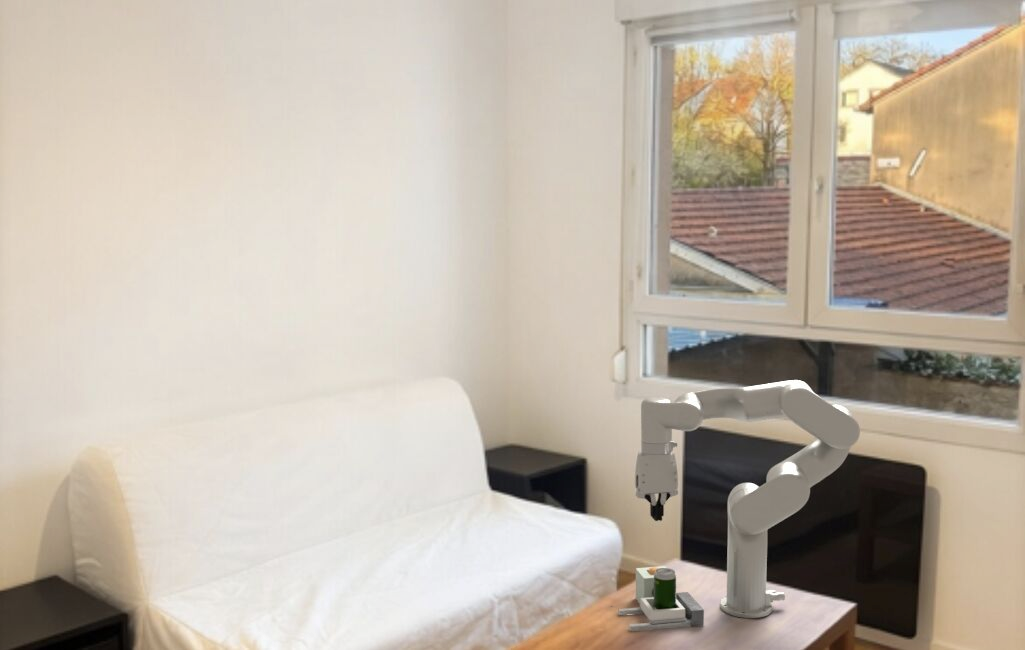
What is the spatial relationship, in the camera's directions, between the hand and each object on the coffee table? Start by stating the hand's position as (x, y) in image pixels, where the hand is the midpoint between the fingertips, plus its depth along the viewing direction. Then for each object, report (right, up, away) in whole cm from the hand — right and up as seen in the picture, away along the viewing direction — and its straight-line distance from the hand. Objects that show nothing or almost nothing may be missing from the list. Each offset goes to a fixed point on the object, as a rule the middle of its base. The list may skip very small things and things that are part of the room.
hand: (657, 519), depth 244 cm
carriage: (0, -21, -7) cm, 23 cm away
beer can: (+1, -23, -7) cm, 24 cm away
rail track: (0, -23, -7) cm, 24 cm away
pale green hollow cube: (0, -22, +3) cm, 22 cm away
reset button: (0, -16, +2) cm, 16 cm away
